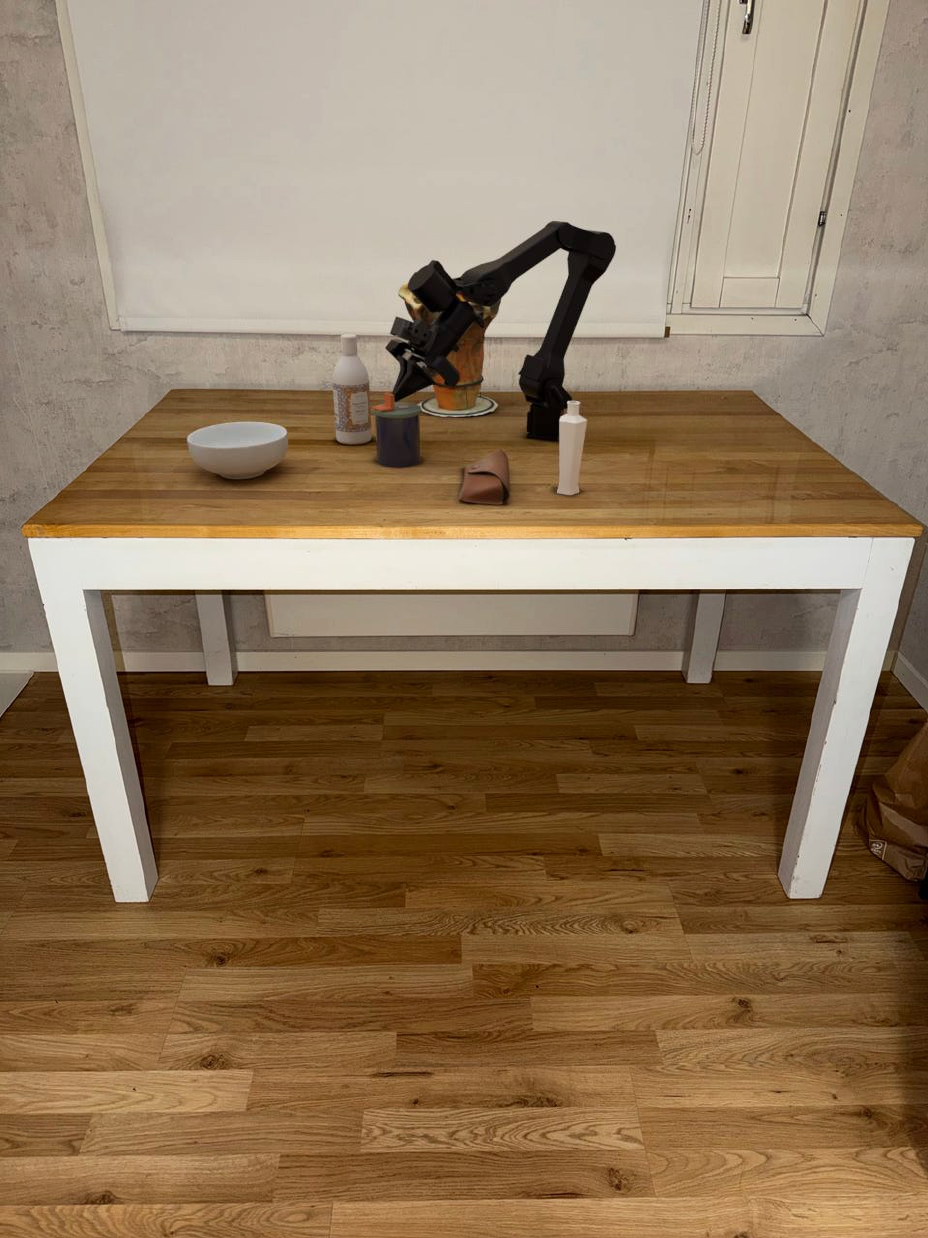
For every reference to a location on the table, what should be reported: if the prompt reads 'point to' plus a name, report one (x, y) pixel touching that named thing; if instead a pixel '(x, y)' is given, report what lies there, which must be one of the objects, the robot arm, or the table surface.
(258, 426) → the cereal bowl
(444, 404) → the decorative vase
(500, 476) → the sunglasses case
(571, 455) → the white tall faceted bottle
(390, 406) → the slider
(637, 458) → the table surface
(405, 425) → the travel cup
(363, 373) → the bath foam
